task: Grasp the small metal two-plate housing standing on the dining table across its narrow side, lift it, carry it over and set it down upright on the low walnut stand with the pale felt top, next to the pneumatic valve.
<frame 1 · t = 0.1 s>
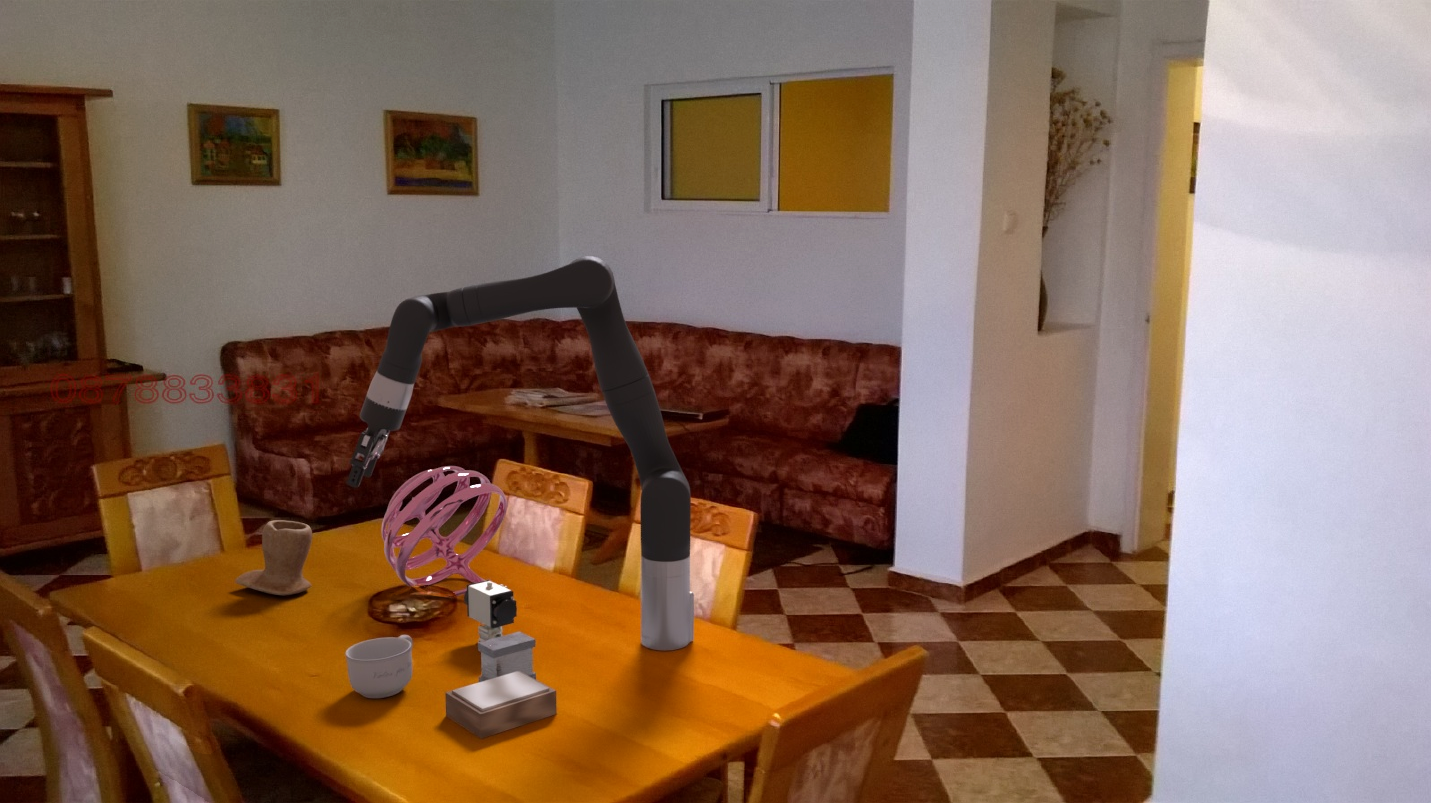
hand: (358, 480, 217), 31 cm above the table, tool tilted 20°, fingers open, 8 cm apart
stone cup: (280, 590, 253), on the table
stand: (501, 714, 191), on the table
housing: (507, 682, 204), on the table
teacup: (387, 689, 201), on the table
spiral basket: (445, 587, 256), on the table
pneumatic valve: (492, 643, 223), on the table
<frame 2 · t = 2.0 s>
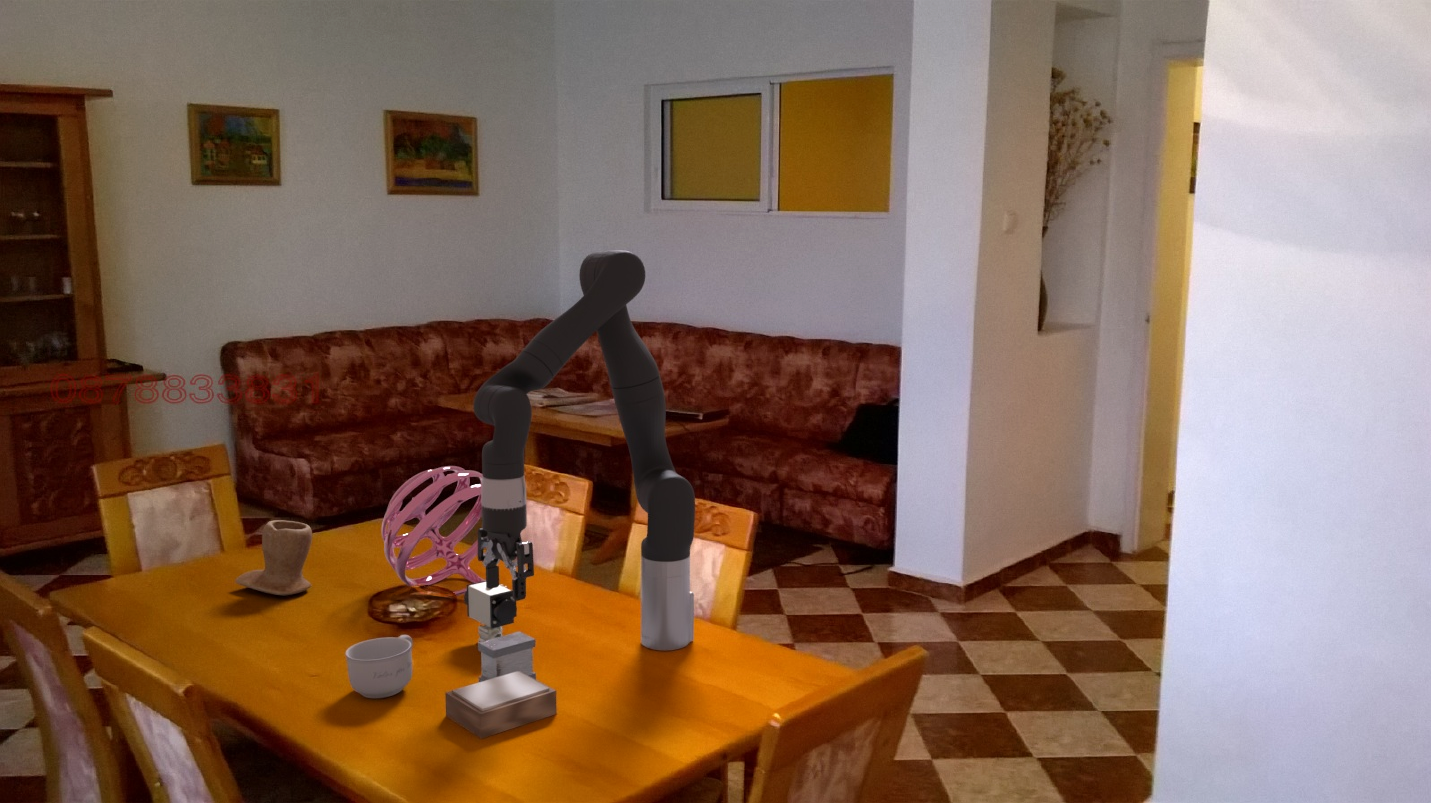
hand: (505, 593, 202), 16 cm above the table, tool pointing down, fingers open, 8 cm apart
nothing on the table moved.
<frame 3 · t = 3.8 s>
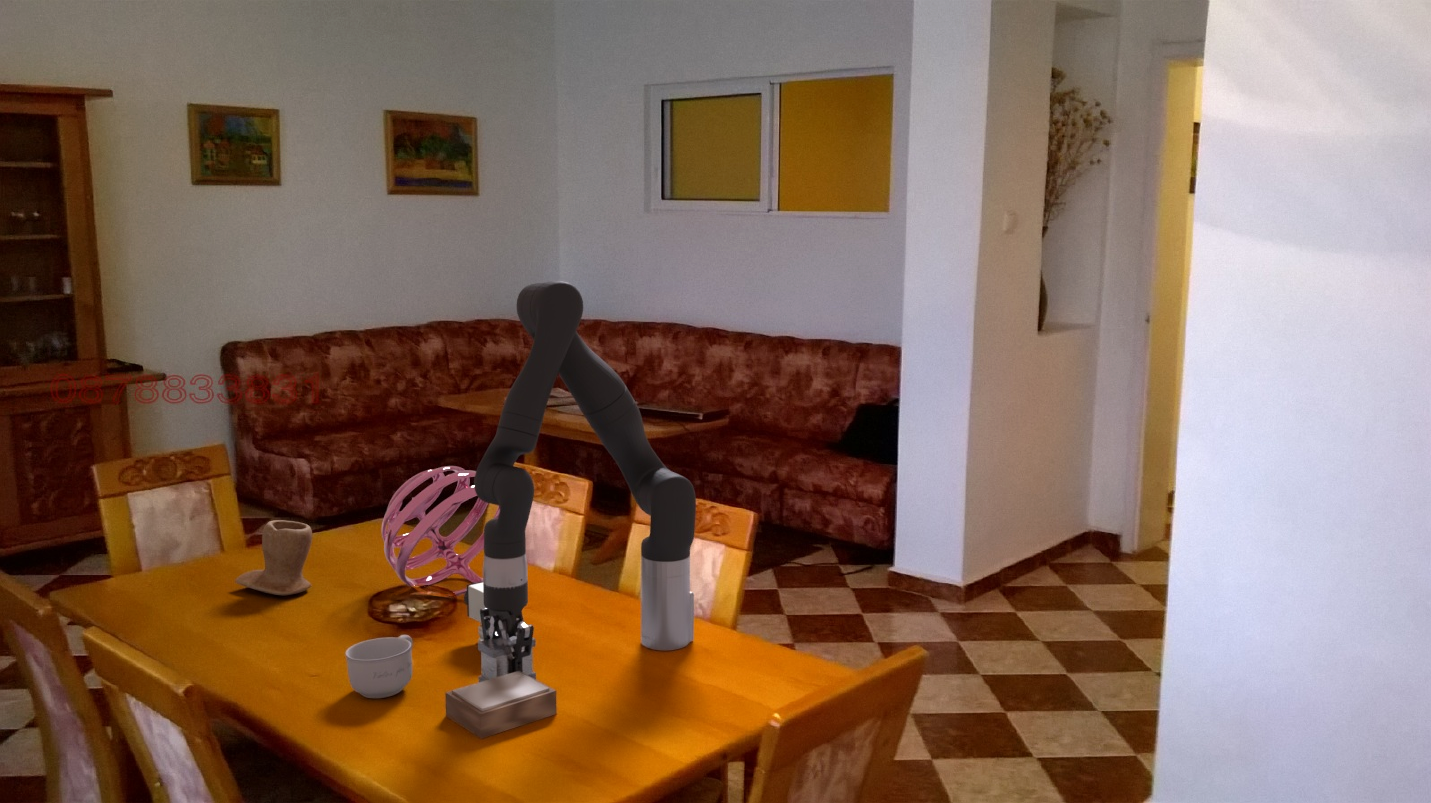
hand: (507, 672, 204), 2 cm above the table, tool pointing down, fingers closed on housing, 5 cm apart
housing: (507, 682, 204), on the table, touching gripper
everything else where it was.
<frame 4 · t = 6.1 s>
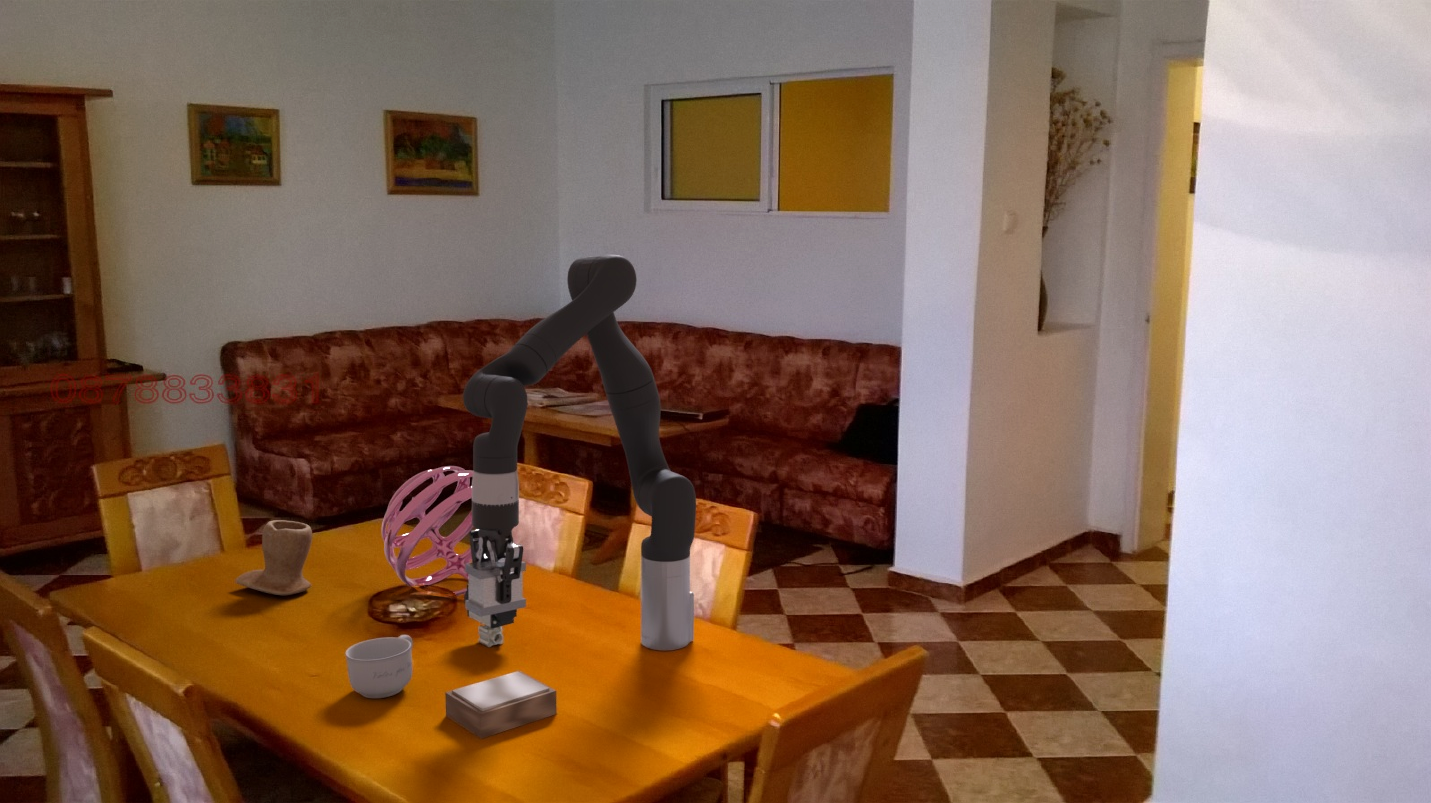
hand: (495, 597, 193), 18 cm above the table, tool pointing down, fingers closed on housing, 5 cm apart
housing: (495, 607, 193), point 16 cm above the table, touching gripper
everything else where it was.
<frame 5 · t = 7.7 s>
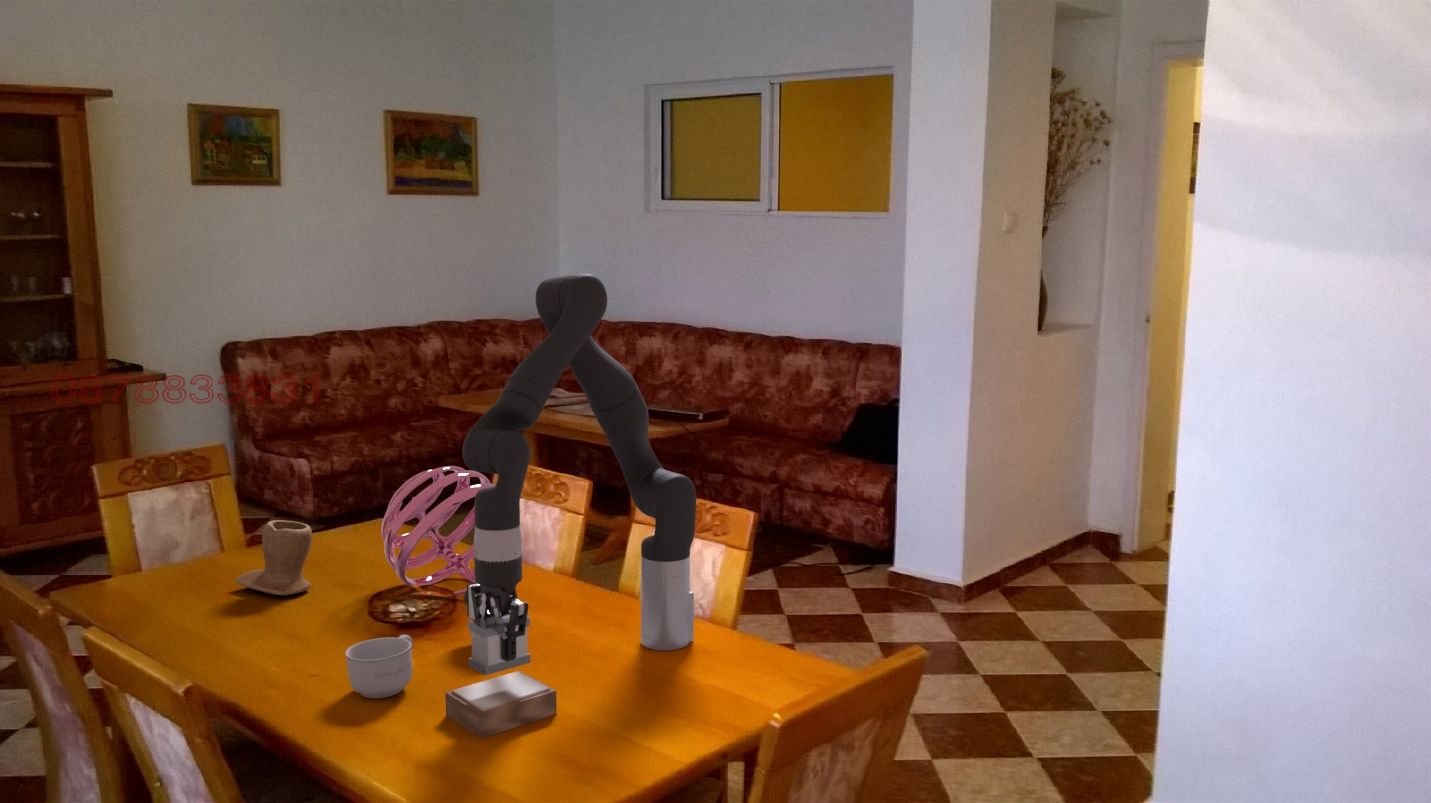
hand: (499, 654, 189), 10 cm above the table, tool pointing down, fingers closed on housing, 5 cm apart
housing: (499, 664, 189), point 9 cm above the table, touching gripper
everything else where it was.
when the fingers open (7 cm above the table, at t = 8.7 s): housing drops 1 cm, resting on stand.
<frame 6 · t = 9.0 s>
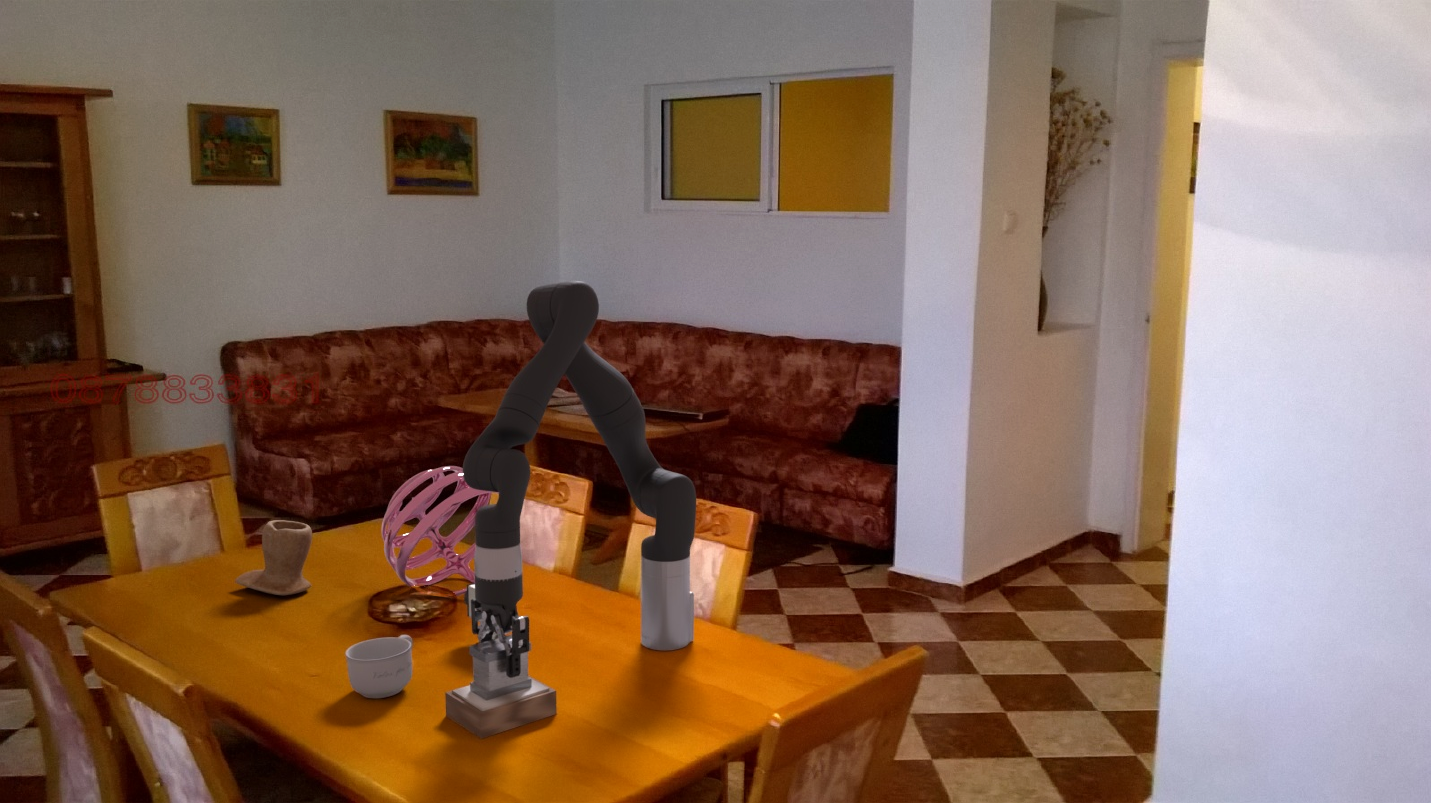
hand: (500, 668, 189), 8 cm above the table, tool pointing down, fingers open, 7 cm apart
housing: (501, 688, 190), point 4 cm above the table, touching stand
everything else where it was.
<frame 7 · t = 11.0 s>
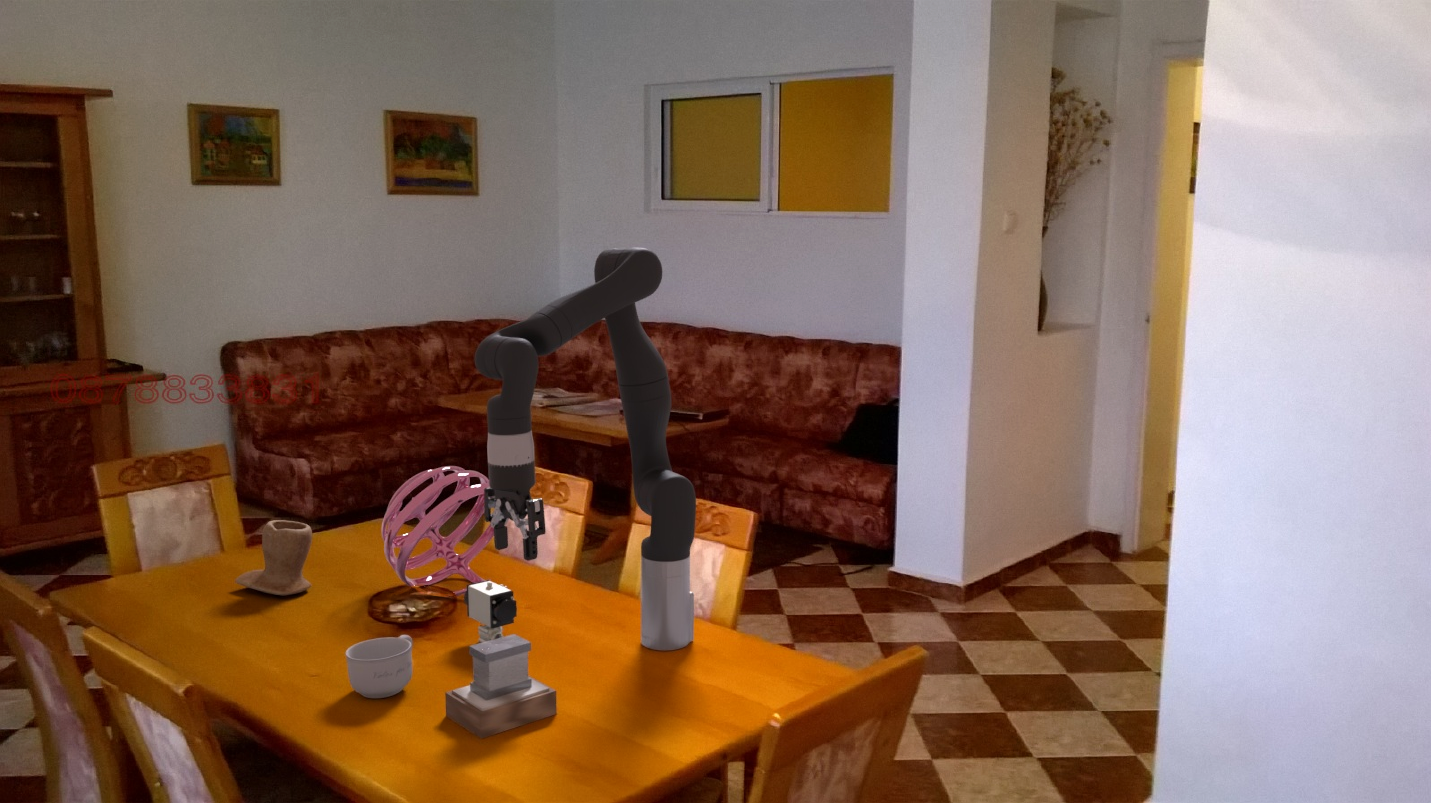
hand: (515, 553, 194), 25 cm above the table, tool pointing down, fingers open, 8 cm apart
nothing on the table moved.
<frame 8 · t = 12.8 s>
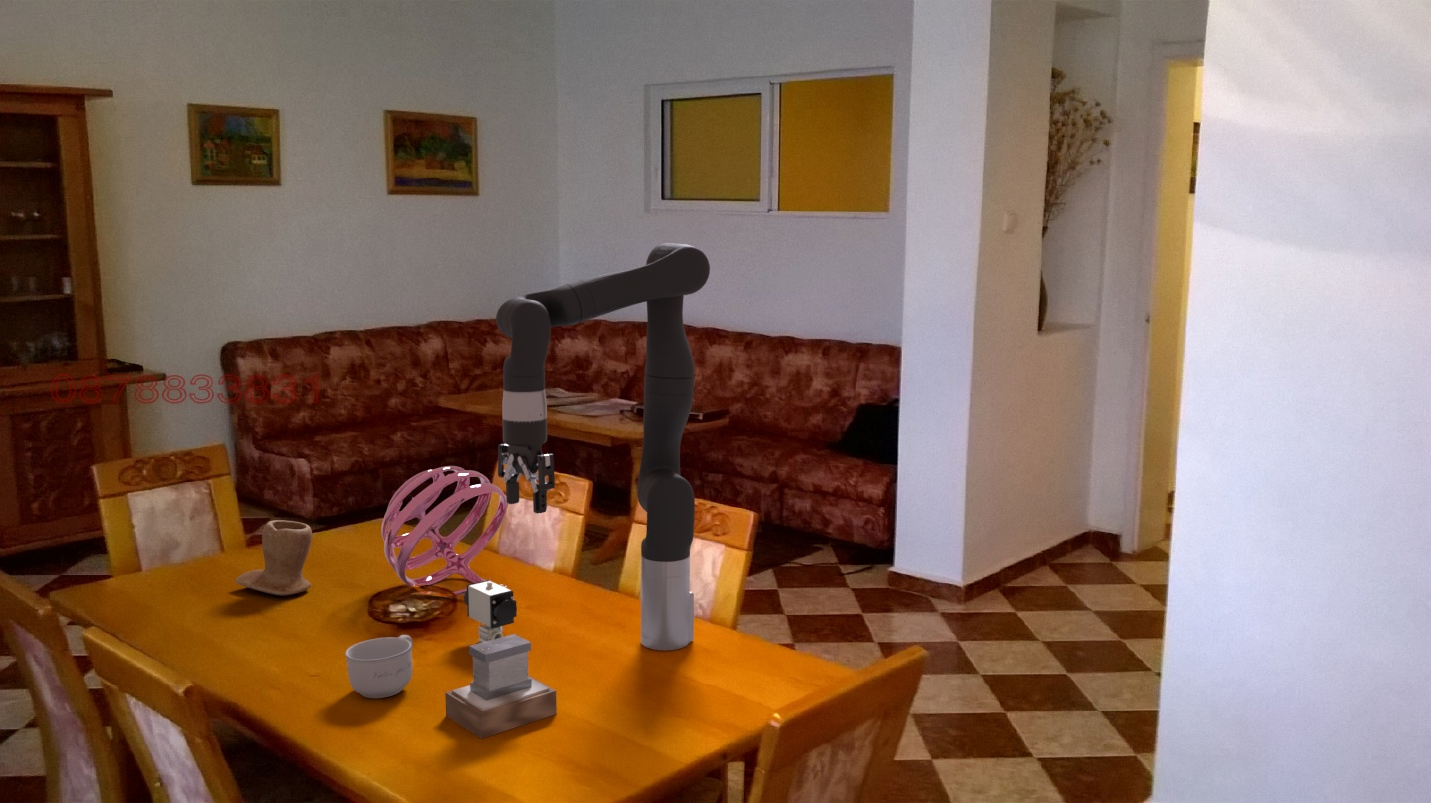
hand: (526, 507, 203), 30 cm above the table, tool pointing down, fingers open, 8 cm apart
nothing on the table moved.
at the end: housing inside the target area on the stand (0.1 cm from its centre), point 4.4 cm above the stand's base; housing tilted 0°; the gripper is holding nothing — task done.
